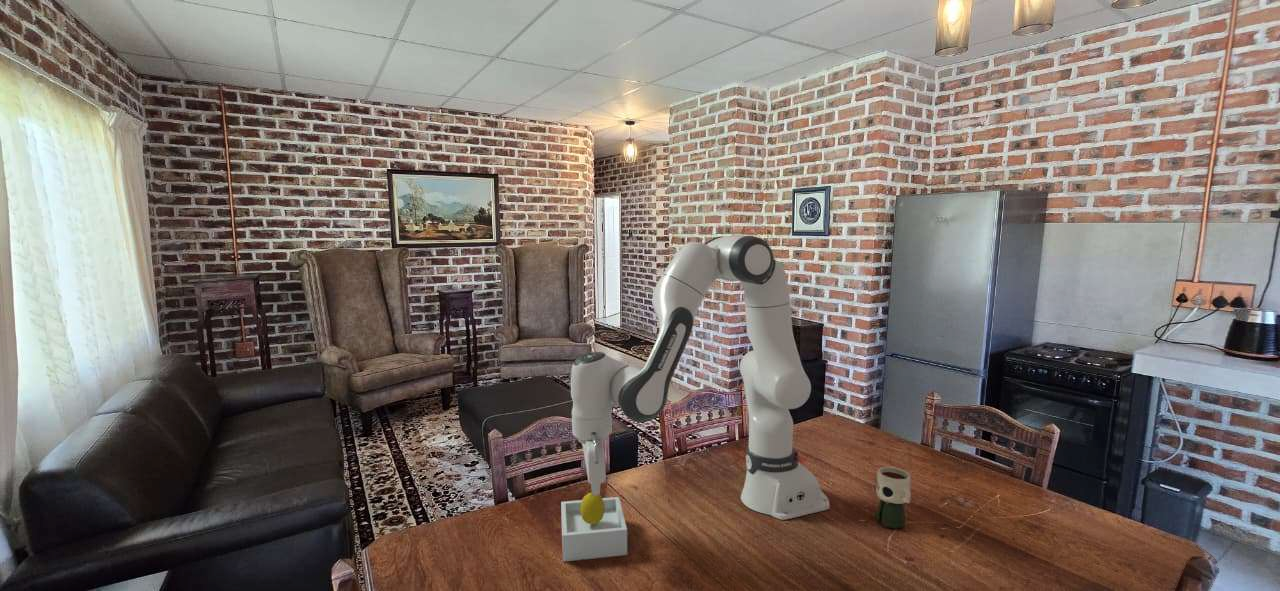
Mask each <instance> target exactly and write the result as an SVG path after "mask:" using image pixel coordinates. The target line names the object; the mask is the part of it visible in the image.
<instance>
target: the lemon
mask: <svg viewBox="0 0 1280 591" xmlns="http://www.w3.org/2000/svg"><path fill="white" fill-rule="evenodd" d="M602 498H603V497H602V496H601V495H600V494H599V495H592V491H591V492H588V493H587V494H585V495H584V496H583V498H582V499H581V500H582V502H581V507H580V511H581V516H582V518H583V520H584V521H585V522H586V523H588V524H591V525H594V524H597V523H598V522H600V521H601V519H602V518H603V516H604V510H605V506H604V502H603V499H602Z"/></svg>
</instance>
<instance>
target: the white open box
mask: <svg viewBox="0 0 1280 591" xmlns="http://www.w3.org/2000/svg"><path fill="white" fill-rule="evenodd" d="M602 499H603V502H604V506H605V510H604V516H603V518H602V519H601V521H600V522H598V523H597V524H594V525H591V524H588V523H586V522H585V521H584V520H583V518H582V516H581V511H580V507H581V502H582V499H580V500H578V499H577V500H569V501H561V502H560V506H561V507H560V508H561V510H560V511H561V512H560V514H561V515H560V516H561V518H560V519H561V542H562V543H561V544H562V549H561V550H562V562H564V563H565V562H572V561H583V560H590V559H599V558H611V557H619V556H620V557H621V556H627V555H628V527H627V524H626V523H627V522H626V520H625V516H624V511H623V506H622V504H621V500H620V497H619V496H615V497H602ZM582 559H583V560H582Z"/></svg>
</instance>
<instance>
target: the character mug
mask: <svg viewBox="0 0 1280 591" xmlns="http://www.w3.org/2000/svg"><path fill="white" fill-rule="evenodd" d="M876 473H877V474H876V490H875V492H876V495H877V497H878V498H879V499H880V500H879V504H878V508H877V512H876V521H877V522H879V520H881V521H880V525H883V526H884V527H887V528H892V529H897V528H898V529H899V528H901V527H904V526H905V524H906V513H905V505H904V504H906V503H907V504H910V503H911V497H912V496H911V495H912V494H911V492H912V491H911V490H910V488H911V475H910V473H909V472H908V471H907V470H905V469H902V468H899V467H895V466H881V467H879V468H878V470H877V472H876Z"/></svg>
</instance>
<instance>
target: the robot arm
mask: <svg viewBox="0 0 1280 591" xmlns="http://www.w3.org/2000/svg"><path fill="white" fill-rule="evenodd" d="M774 256H775V255H774V253H773V249H772V248H771V246H770V245H769V244H768V242H766V241H765V240H764V239H762V238H760V237H758V236H754V235H743V234H742V235H741V234H730V235H727V236H716V237H713V238H710V239H709V240H708V241H707V242H705V243H704V242H700V241H689V242H686V243H685V244H684V245H683V246H682V247H681V248H680V249H679V250H678V252H677V253H676V254H675V255H674V256H673V258H672V259H671V261H670V262H669V264H668V265H667V267H666V268H665V269H664V272H662V274H661V277H660V278H659V281H658V282H657V284H656V286H655V289H654V291H653V295H652V297H651V302H652V308H653V311H654V313H655V314H656V317H657V319H658V324H659V331H658V334H657V335H658V336H657V339H656V340H655V343H654V345H653V348H652V349H651V352H650V354H649V356H648V358H647V360H646V362H645V365H644V366H643V368H641V367H640V366H639V365H637V364H636V363H635V364H634V363H632V362H628V361H621V360H618V359H615V358H612V357H611V356H609V355H607V354H606V353H604V352H602V351H601V352H600V351H595V352H594V351H591V352H587V353H584V354H582V355H580V356H578V357H577V358H576V359H575V360H574V361H573V363H572V366H571V371H570V372H571V374H570V396H571V400H572V403H573V404H572V409H571V427H572V431H571V432H572V436H574V437H575V438H576V439H578V442H579V443H581V445H582V451H583V457H584V463H585V464H584V465H585V469H586V475H587V482H588V484H590V487H591V489H590V490H591V492H592V495H600V494H601V484H603V483H604V484H605V482H606V478H607V477H606V476H607V475H606V457H605V456H606V454H605V448H604V442H606V440H607V438H608V436H610V435H611V433H612V432H613V426H612V422H613V420H612V409H613V408H614V407H619V408H620V410H621V411H622V412H623V414H624V415H625V417H627V418H628V419H629V420H631V421H633V422H636V423H646V422H650V421H652V420H655V418H657V417H658V416H659V415H661V413H662V412H663V411H664V410H665V406H666V404H667V400H668V397H669V388H670V383H671V381H672V379H673V376H674V374H675V371H676V368H677V366H678V365H679V362H680V360H681V358H682V355H683V352H684V350H685V348H686V346H687V343H688V341H689V340H690V336H691V334H692V331H693V326H694V322H695V321H694V320H695V319H696V315H697V313H698V312H699V311H698V310H699V308H700V306H701V304H702V302H703V301H704V299H705V296H706V295H707V294H708V293H707V292H708V291H709V289H710V287H711V285H712V284H713V283H714V282H715V281H716V280H719V279H720V280H724V281H727V282H740V284H741V286H742V288H743V292H744V293H743V296H744V310H745V312H744V313H745V321H746V322H745V323H746V324H745V325H746V335H747V337H748V340H749V342H750V344H751V347H752V349H753V350H750V351H748V352H747V353H745V354H744V356H743V357H742V358H741V360H740V363H739V372H740V375H741V377H742V381H743V385H744V386H743V388H744V392H745V400H746V401H745V402H746V406H747V412H748V445H747V447H746V456H745V464H746V465H745V466H746V474H745V480H744V485H743V488H742V492H741V494H740V500H741V502H742V503H743V504H744V505H745V506H746V507H747V508H748V509H750V510H753V511H755V512H758V513H760V514H765V515H769V516H772V517H774V518H777V519H779V520H782V521H785V520H789V519H793V518H797V517H798V518H799V517H802V516H806V515H809V514H810V515H811V514H815V513H818V512H822V511H827V510H829V509H830V501H829V498H828V497H827V495H826V494H825V493H824V492H823V491H822V490H821V487H820V483H819V481H818V479H817V478H816V476H815V475H814V474H813V473H812V472H811V471H810V470H808V468H806V467H805V466H803V465H804V464H806V462H807V457H806V456H805V455H804V454H802V453H799V452H798V450H796V449H795V448H793V446H794V445H793V443H794V442H793V441H794V438H793V437H794V421H793V417H792V415H791V412H790V410H795V409H798V408H800V407H802V406H803V405H804V404H806V402H807V401H808V399H809V398H810V395H811V393H812V384H811V381H810V379H809V377H808V375H807V374H806V372H805V369H804V368H803V365H802V361H801V357H800V353H799V350H798V347H797V344H796V340H795V337H794V333H793V332H794V331H793V330H794V329H793V322H792V311H791V310H792V309H791V297H790V295H791V294H790V289H789V284H788V278H787V275H786V271H785V267H784V266H783V264H782V263H781V262H780V261H778V260H776V259H775V257H774ZM802 464H803V465H802Z"/></svg>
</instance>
